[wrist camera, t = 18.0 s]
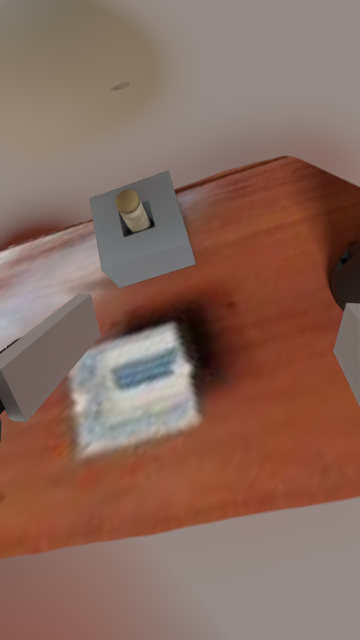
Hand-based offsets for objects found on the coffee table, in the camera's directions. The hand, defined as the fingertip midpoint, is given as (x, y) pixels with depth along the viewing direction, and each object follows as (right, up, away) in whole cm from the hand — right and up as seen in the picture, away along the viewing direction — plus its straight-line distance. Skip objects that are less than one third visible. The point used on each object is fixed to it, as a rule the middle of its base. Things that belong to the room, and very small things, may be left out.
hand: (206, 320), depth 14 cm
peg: (-8, +16, +41) cm, 45 cm away
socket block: (-8, +16, +42) cm, 46 cm away
